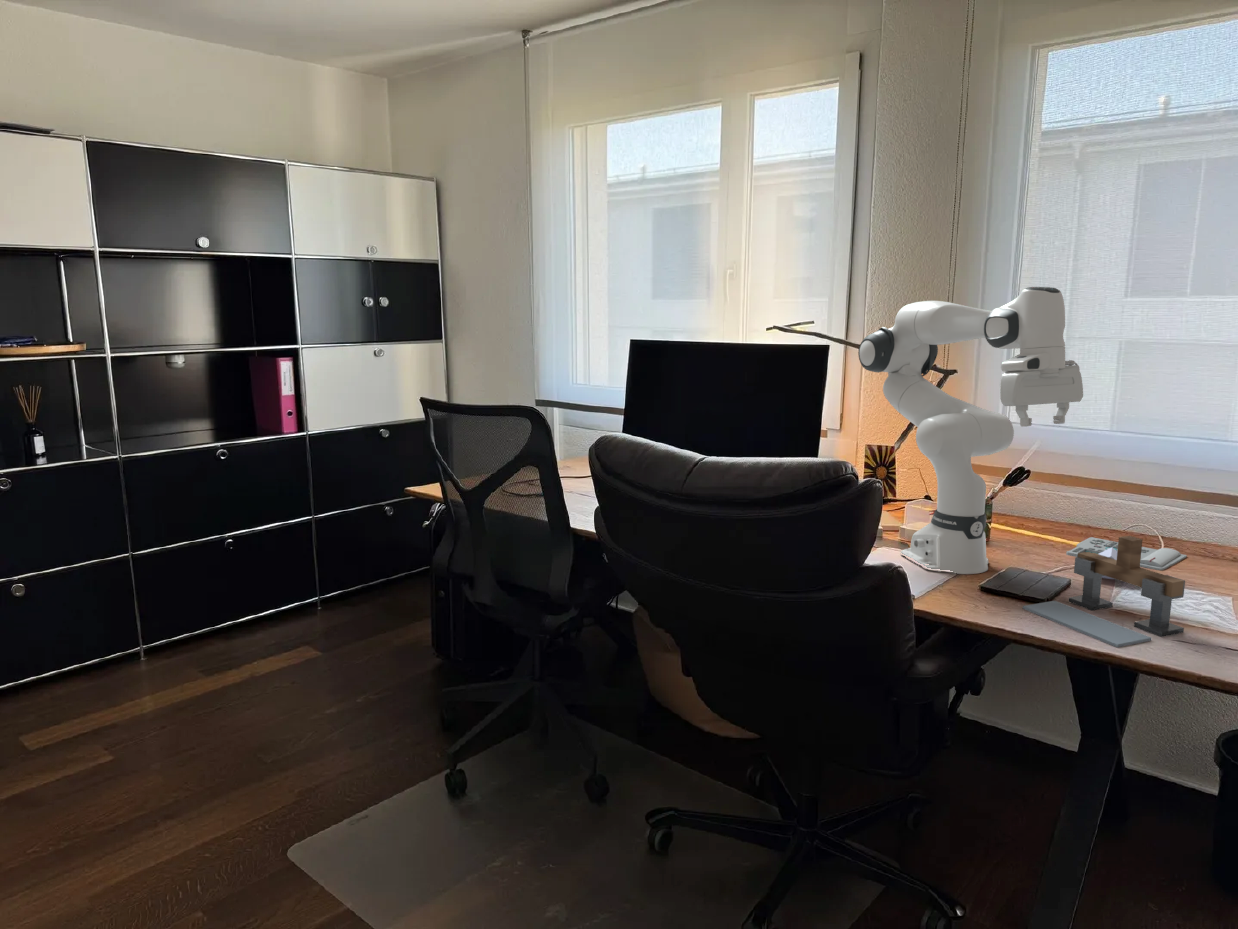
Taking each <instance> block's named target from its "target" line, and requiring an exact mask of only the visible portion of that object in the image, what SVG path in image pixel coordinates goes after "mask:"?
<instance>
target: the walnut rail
mask: <svg viewBox="0 0 1238 929" xmlns="http://www.w3.org/2000/svg"><path fill="white" fill-rule="evenodd" d="M1143 540H1144V539H1143V538H1139V537H1136V536H1131V535H1125V536H1119V537H1118V541H1117V542H1118V551H1117V560H1114V559H1111V558H1107V557H1104V556H1101V555H1098V554H1096V553H1091V552H1082V553H1078V556H1077V557H1081V558H1085V559H1088V560H1091V561H1094V562H1095V570H1094V572H1096V573H1099V574H1102V575H1105V576H1108V577H1111V578H1114V579H1113V580H1116V581H1117V580H1118V581H1121V582H1123V583H1127V584H1130V585H1132V586H1136V587H1138V588H1141V589H1142V579H1144V578H1148V579H1151V580H1155V581H1158V582H1161V583H1164V584H1166V585H1165V595H1166V596H1169V597H1176V596H1181V595H1182V594H1183V585H1184V581H1183V580H1184V579H1182V580H1180V579H1181V578H1178V579H1176V578H1177V577H1175V578H1173V577H1174V576H1172V577H1170V576H1171V575H1169V576H1167V575H1168V574H1163V573H1160V572H1157V571H1154V570H1151V569H1148V568H1144V567H1140V560H1141V550H1142V547H1143Z"/></svg>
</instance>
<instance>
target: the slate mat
mask: <svg viewBox="0 0 1238 929" xmlns="http://www.w3.org/2000/svg"><path fill="white" fill-rule="evenodd" d="M1022 610H1024V611H1028V612H1030V613H1032V614H1034V615H1037V616H1040V617H1042V618H1045V619H1047V620H1049V621H1052V622H1054V623H1057V624H1059V625H1062V626H1064V627H1066V628H1068V629H1071V630H1074V631H1076V632H1078V633H1081V634H1084V635H1086V636H1088V637H1091V638H1093V639H1096V640H1098V641H1100V642H1103V643H1105V644H1108V645H1110V646H1113V647H1115V648H1121V647H1125V646H1130V645H1135V644H1140V643H1144V642H1145V643H1146V642H1151V641H1152V637H1151V636H1148V635H1146V634H1143V633H1140V632H1138V631H1135V630H1133V629H1131V628H1128V627H1125V626H1122V625H1119V624H1117V623H1115V622H1111V621H1110V620H1107V619H1104V618H1101V617H1098V616H1096V615H1093V614H1092V613H1091V614H1090V613H1089V612H1086V611H1083V610H1080V609H1078V608H1076V607H1072V606H1070V605H1067V604H1065V603H1062V602H1060V601H1057V600H1052V601H1044V602H1039V603H1032V604H1026V605H1022Z"/></svg>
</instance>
